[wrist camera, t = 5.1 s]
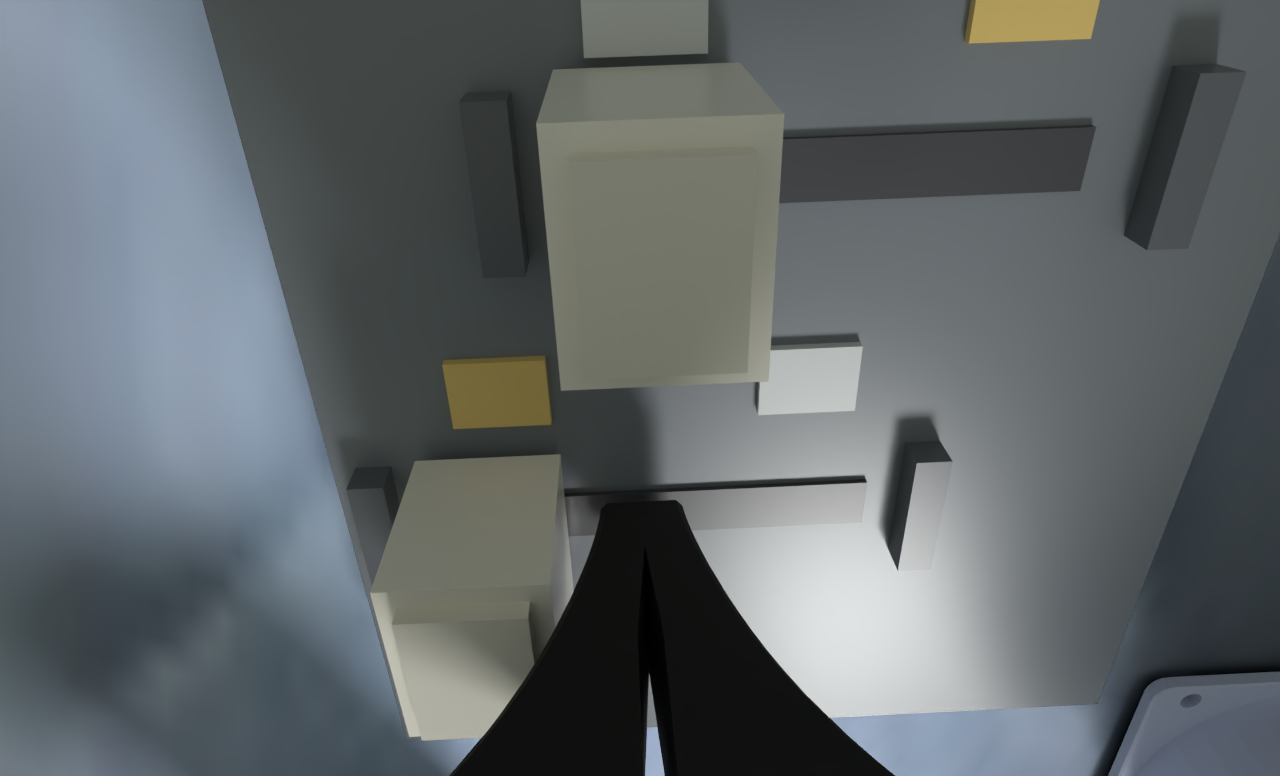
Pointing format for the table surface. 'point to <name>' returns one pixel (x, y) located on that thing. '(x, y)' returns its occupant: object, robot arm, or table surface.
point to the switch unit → (805, 301)
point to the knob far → (471, 587)
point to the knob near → (660, 223)
